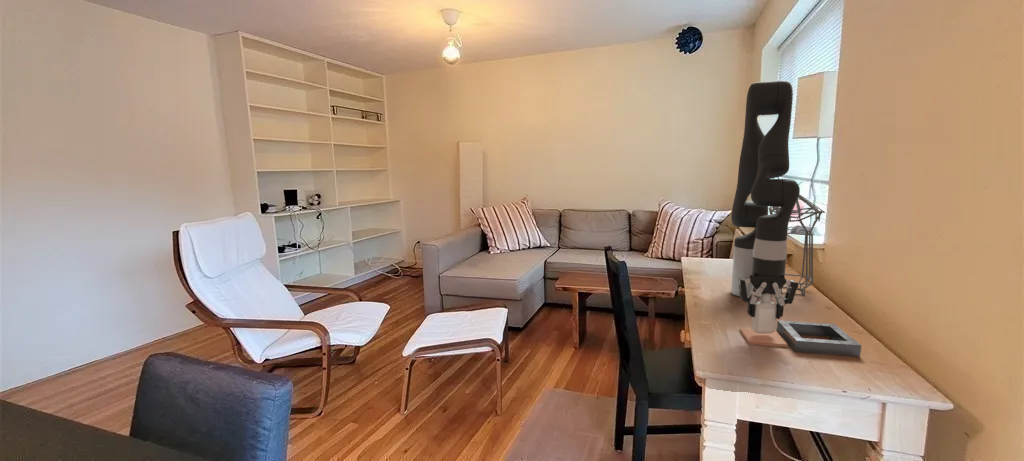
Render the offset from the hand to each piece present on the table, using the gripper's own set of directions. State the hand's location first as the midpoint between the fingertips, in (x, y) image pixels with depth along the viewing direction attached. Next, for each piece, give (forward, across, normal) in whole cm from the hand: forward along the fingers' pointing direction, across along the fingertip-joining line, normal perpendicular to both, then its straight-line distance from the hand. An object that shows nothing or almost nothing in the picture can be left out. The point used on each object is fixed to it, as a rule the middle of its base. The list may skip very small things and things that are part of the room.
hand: (764, 316), depth 117 cm
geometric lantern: (+7, -22, -48) cm, 53 cm away
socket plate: (+6, -12, 0) cm, 14 cm away
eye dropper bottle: (+4, 0, 0) cm, 4 cm away
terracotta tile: (+6, 0, 0) cm, 6 cm away
